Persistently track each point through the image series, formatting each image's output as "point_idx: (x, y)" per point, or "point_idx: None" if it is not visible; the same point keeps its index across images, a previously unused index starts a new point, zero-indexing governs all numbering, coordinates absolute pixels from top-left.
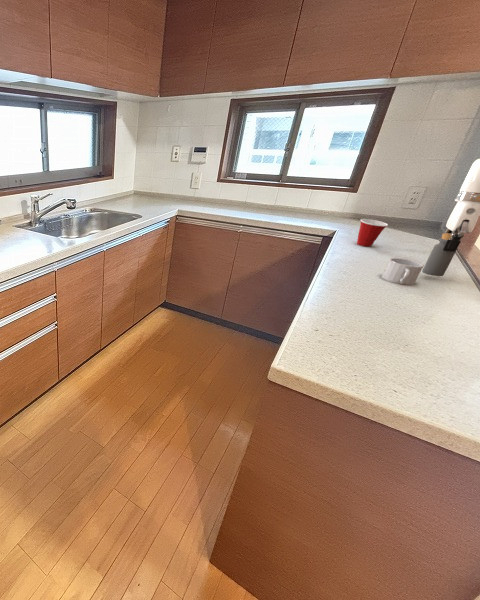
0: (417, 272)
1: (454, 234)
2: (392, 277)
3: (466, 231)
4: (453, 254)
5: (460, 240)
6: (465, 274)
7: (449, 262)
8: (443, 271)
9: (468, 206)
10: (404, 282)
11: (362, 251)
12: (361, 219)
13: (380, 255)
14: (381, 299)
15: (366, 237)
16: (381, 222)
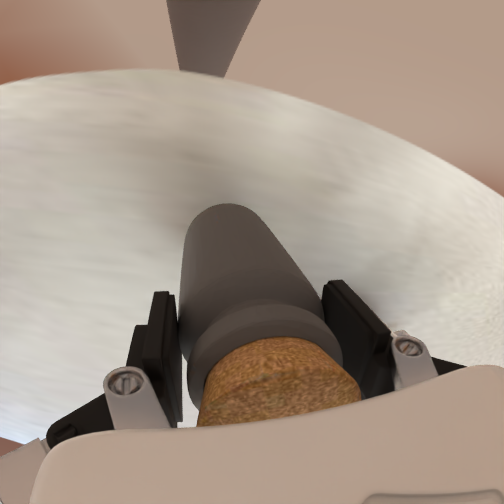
0: (390, 329)
1: (260, 418)
2: None
3: (354, 402)
4: (288, 257)
5: (415, 343)
6: (29, 87)
7: (268, 233)
8: (264, 223)
9: None
10: (404, 330)
11: (11, 399)
12: None
13: (4, 360)
14: (473, 342)
15: None
16: None
